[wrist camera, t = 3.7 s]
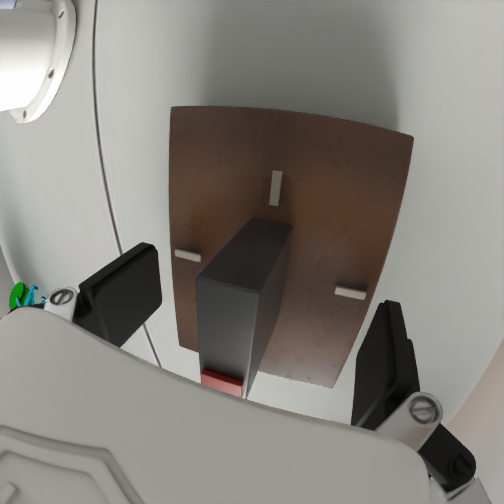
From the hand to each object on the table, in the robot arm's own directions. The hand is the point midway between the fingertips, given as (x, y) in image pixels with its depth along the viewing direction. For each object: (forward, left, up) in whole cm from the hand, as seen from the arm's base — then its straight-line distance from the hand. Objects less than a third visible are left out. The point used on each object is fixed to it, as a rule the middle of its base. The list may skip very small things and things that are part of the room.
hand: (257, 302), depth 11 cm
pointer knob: (0, 0, -2) cm, 2 cm away
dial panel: (0, 0, -5) cm, 5 cm away
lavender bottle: (-26, -37, -5) cm, 46 cm away
